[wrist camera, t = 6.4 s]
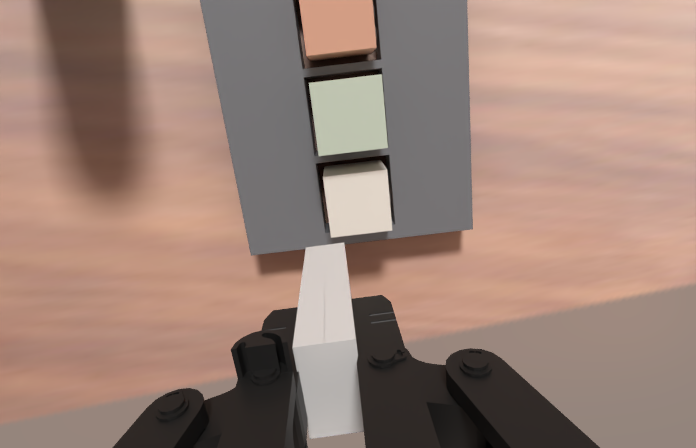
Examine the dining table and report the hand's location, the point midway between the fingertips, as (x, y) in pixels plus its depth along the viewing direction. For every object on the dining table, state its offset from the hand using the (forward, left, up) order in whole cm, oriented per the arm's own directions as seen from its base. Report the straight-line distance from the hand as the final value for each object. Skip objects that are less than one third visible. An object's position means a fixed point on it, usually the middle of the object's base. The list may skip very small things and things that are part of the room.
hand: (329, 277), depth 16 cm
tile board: (+2, +6, -15) cm, 16 cm away
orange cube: (+2, +11, -14) cm, 18 cm away
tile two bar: (+2, +6, -13) cm, 14 cm away
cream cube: (+2, 0, -14) cm, 15 cm away
